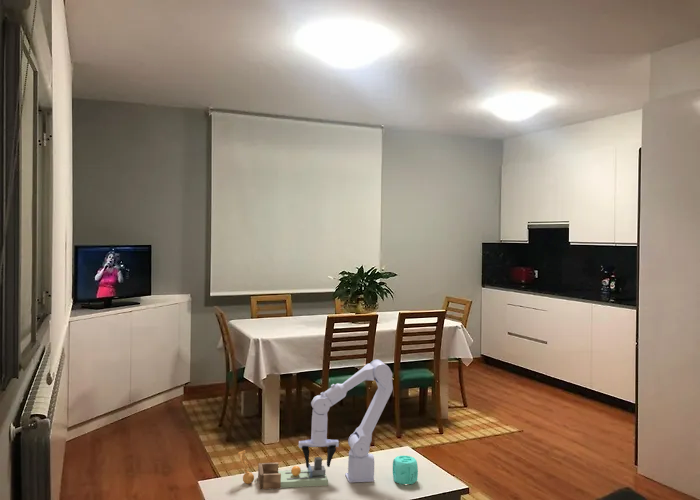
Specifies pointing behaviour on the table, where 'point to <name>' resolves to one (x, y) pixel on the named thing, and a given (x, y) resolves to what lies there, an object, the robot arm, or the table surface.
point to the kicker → (316, 468)
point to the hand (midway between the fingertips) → (317, 466)
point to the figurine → (248, 476)
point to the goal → (269, 476)
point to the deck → (301, 479)
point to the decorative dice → (405, 470)
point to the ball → (295, 470)
